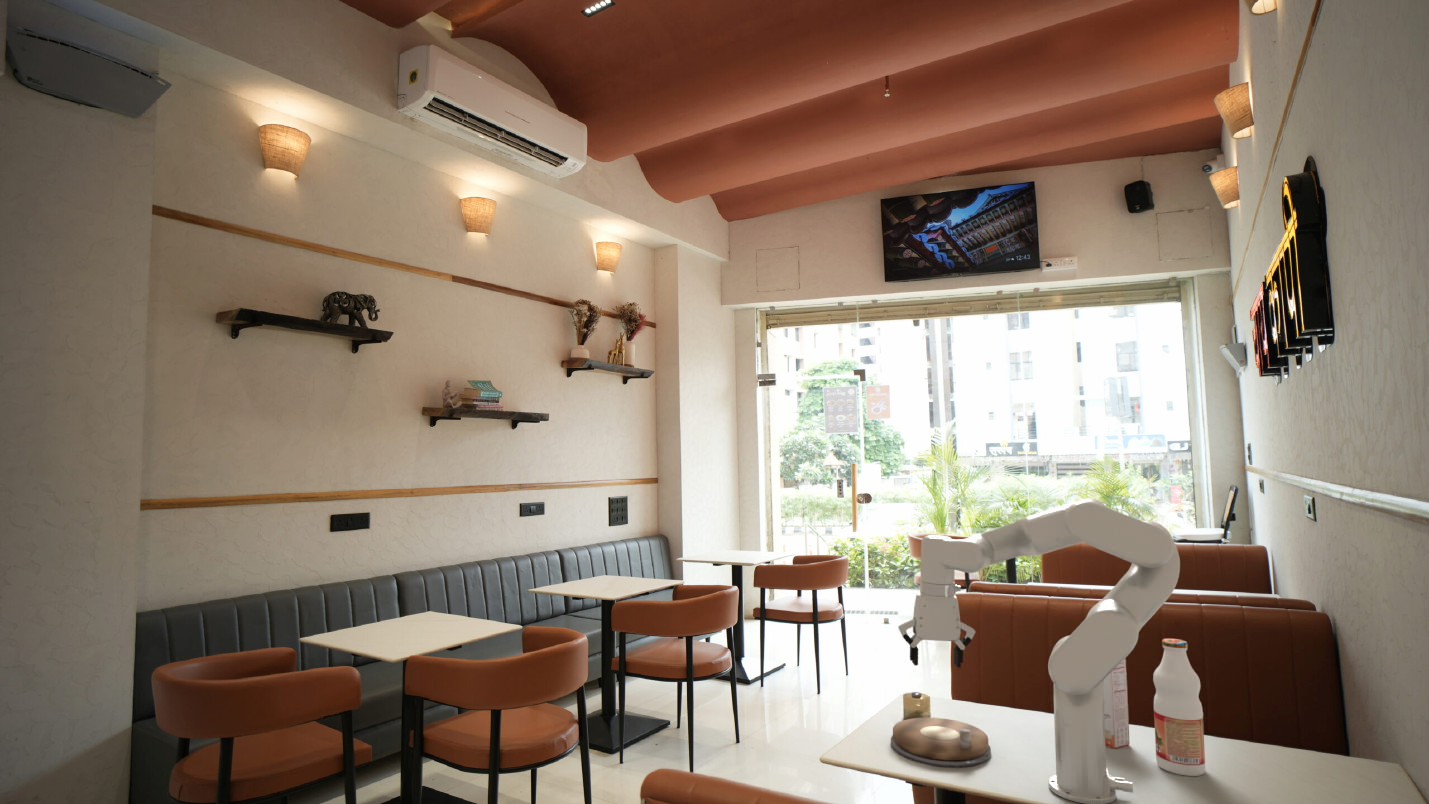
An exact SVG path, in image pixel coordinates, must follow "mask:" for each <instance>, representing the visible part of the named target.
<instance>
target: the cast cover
mask: <svg viewBox="0 0 1429 804" xmlns="http://www.w3.org/2000/svg"><path fill="white" fill-rule="evenodd" d="M902 706H903V711H902V712H903V714H902V715H903V717H902V718H903V720H907V719H913V718H932V715H931V697H930V696H929V695H928V694H925V693H921V692H918V691H912V692H907V693H903V695H902Z"/></svg>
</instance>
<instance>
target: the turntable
mask: <svg viewBox="0 0 1429 804" xmlns="http://www.w3.org/2000/svg"><path fill="white" fill-rule="evenodd" d="M892 735H893V741H894V742H895V744H896V745H897V746H899V747H900V748H902V749H903V750H905V751H908V752H910V753H913V754H916V755H919V756H923V757H927V758H933V759H940V760H967V759H973V758H977V757H980V756H982V755H984V754H985V753H986V752H987V751H988V749H989V748H988V744H989V737H988V735H987V733H986V732H985V731H983V730H982V729H981V728H978V727H977V726H974V725H972V724H969V723H966V722H963V721H959V720H954V719H949V718H941V717H931V718H913V719H907V720H904V719H903V720H901V721H899V722H897V723H896V724H894V726H893V727H892Z"/></svg>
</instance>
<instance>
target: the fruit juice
mask: <svg viewBox="0 0 1429 804" xmlns="http://www.w3.org/2000/svg"><path fill="white" fill-rule="evenodd" d="M1161 645H1162V648H1163V654H1162V658H1161V661H1160V663H1159V665H1158V666H1157V667H1156V668H1155V670H1154V672H1153V678H1152V682H1153V684H1154V687H1155V694H1154V697H1153V717H1154V718H1153V719H1154V736H1155V737H1154V738H1155V739H1154V740H1155V741H1154V742H1155V759H1156V763H1157V765H1158V766H1159V768H1161V769H1163V770H1164V771H1167V772H1170V773H1172V774H1175V775H1181V776H1186V777H1187V776H1188V777H1197V776H1198V777H1199V776H1202V775H1204V774H1205V773H1206V753H1205V752H1206V751H1205V735H1204V734H1205V731H1204V712H1203V706H1202V702H1201V701H1200V698H1199V696H1200V695H1199V694H1200V691H1201V686H1202V685H1201V681H1200V677H1199V676H1198V674H1197V673H1196V672H1195V670H1194V668H1193V667H1192V665H1191V663H1190V660H1189V658H1188V654H1187V651H1188V648H1189V647H1188V642H1187V641H1185V640H1183V639H1179V638H1178V639H1177V638H1163V639H1162V641H1161Z"/></svg>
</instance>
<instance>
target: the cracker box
mask: <svg viewBox="0 0 1429 804" xmlns="http://www.w3.org/2000/svg"><path fill="white" fill-rule="evenodd" d="M1127 675H1128V674H1127V659H1126V658H1125V659H1124V660H1123V661H1122V662H1121V663H1120V664H1119V665H1118V666H1117V667H1116V668H1115V669H1114V670H1113V671H1112V672H1111V673H1110V674H1109V675H1108V676H1107V677H1106V678H1105V679H1104V680H1103V686H1104V717H1105V718H1104V723H1105V747H1109V748H1111V749H1119V748H1122V747H1126V746H1129V745H1130V723H1129V719H1130V718H1129V702H1128V701H1129V700H1128V698H1129V697H1128V695H1129V694H1128V680H1127V679H1128V678H1127Z"/></svg>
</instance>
